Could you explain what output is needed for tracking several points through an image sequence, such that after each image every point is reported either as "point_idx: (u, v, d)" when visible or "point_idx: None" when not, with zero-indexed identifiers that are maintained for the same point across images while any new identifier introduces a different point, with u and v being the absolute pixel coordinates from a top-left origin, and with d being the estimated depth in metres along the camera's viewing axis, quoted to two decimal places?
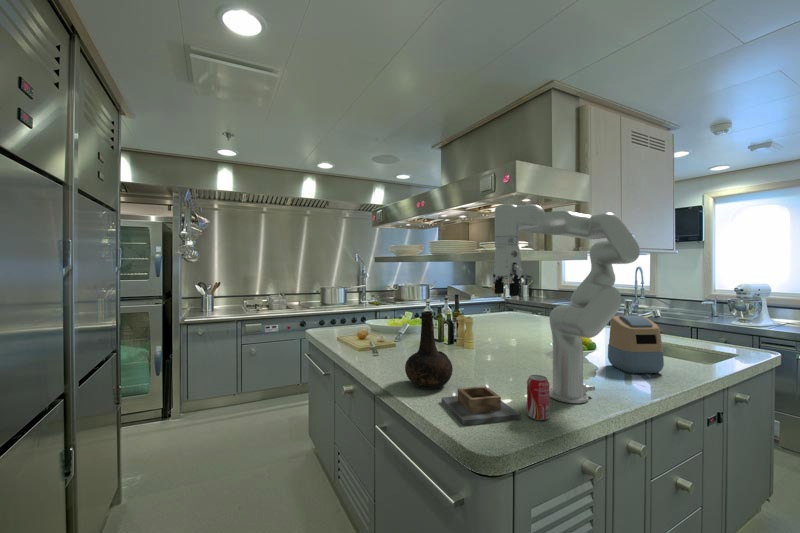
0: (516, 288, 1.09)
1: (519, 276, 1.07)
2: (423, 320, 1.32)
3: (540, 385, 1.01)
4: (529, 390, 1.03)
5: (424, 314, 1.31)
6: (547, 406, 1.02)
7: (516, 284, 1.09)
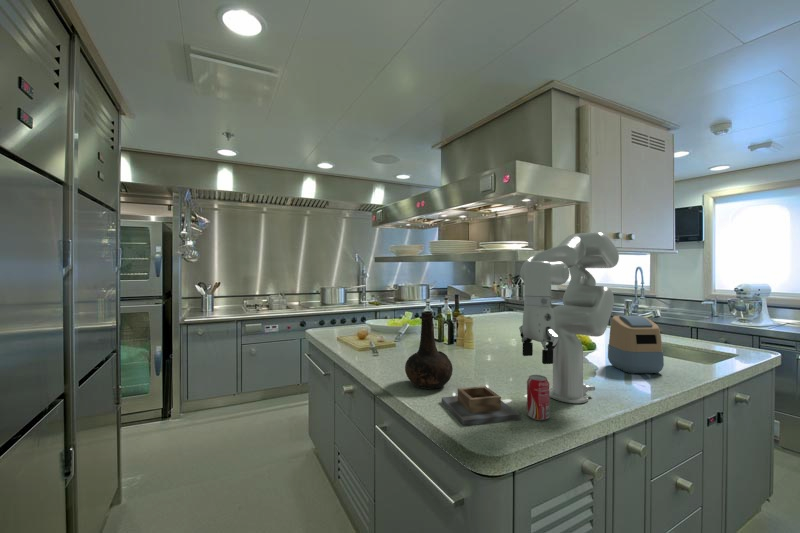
0: (550, 356, 0.98)
1: (554, 343, 0.97)
2: (423, 320, 1.32)
3: (540, 385, 1.01)
4: (529, 390, 1.03)
5: (424, 314, 1.31)
6: (547, 406, 1.02)
7: (550, 351, 0.98)
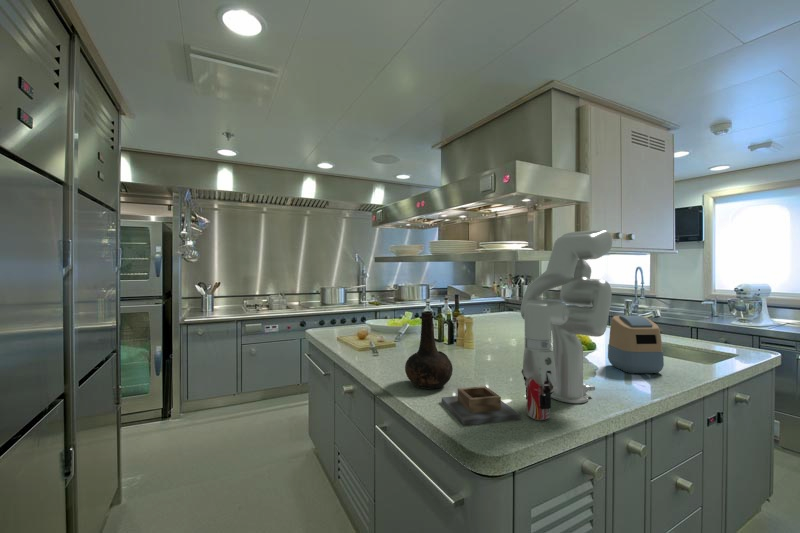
0: (548, 401, 1.00)
1: (552, 391, 0.98)
2: (423, 320, 1.32)
3: None
4: (529, 390, 1.03)
5: (424, 314, 1.31)
6: None
7: (548, 397, 1.00)
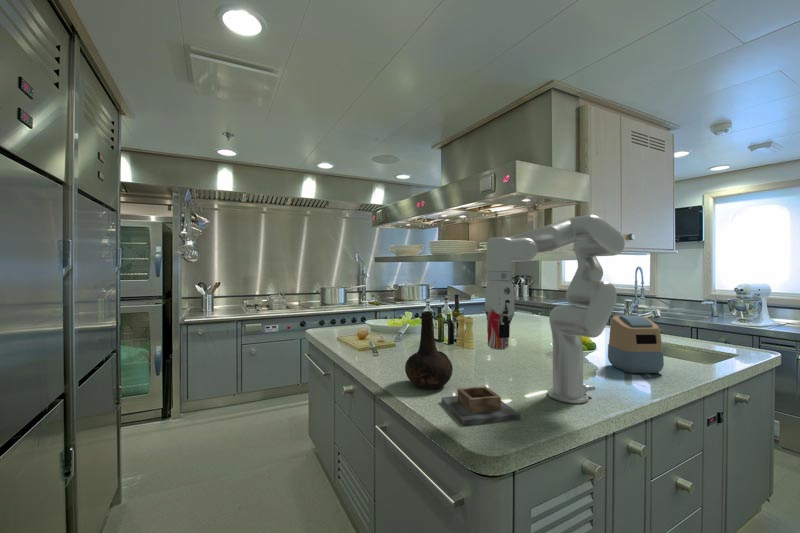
0: (506, 330, 1.03)
1: (509, 319, 1.02)
2: (423, 320, 1.32)
3: None
4: (489, 321, 1.07)
5: (424, 314, 1.31)
6: None
7: (506, 326, 1.03)
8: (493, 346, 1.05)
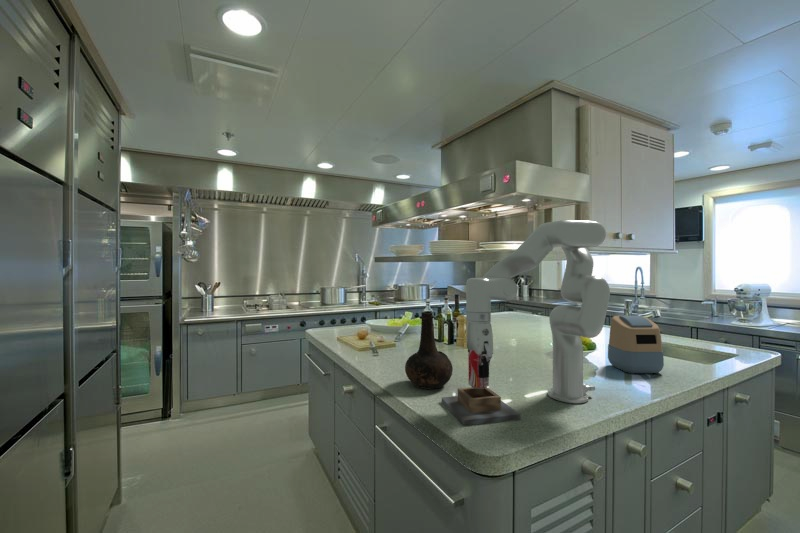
0: (485, 370, 1.05)
1: (488, 360, 1.04)
2: (423, 320, 1.32)
3: None
4: (469, 360, 1.09)
5: (424, 314, 1.31)
6: None
7: (486, 366, 1.05)
8: (473, 385, 1.07)
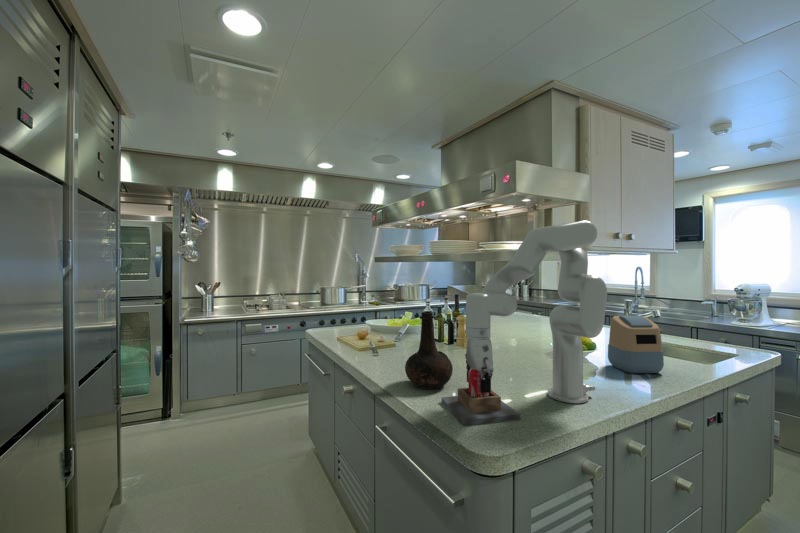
0: (487, 385, 1.04)
1: (490, 374, 1.02)
2: (423, 320, 1.32)
3: (479, 374, 1.07)
4: (469, 379, 1.09)
5: (424, 314, 1.31)
6: (486, 394, 1.07)
7: (487, 381, 1.04)
8: None
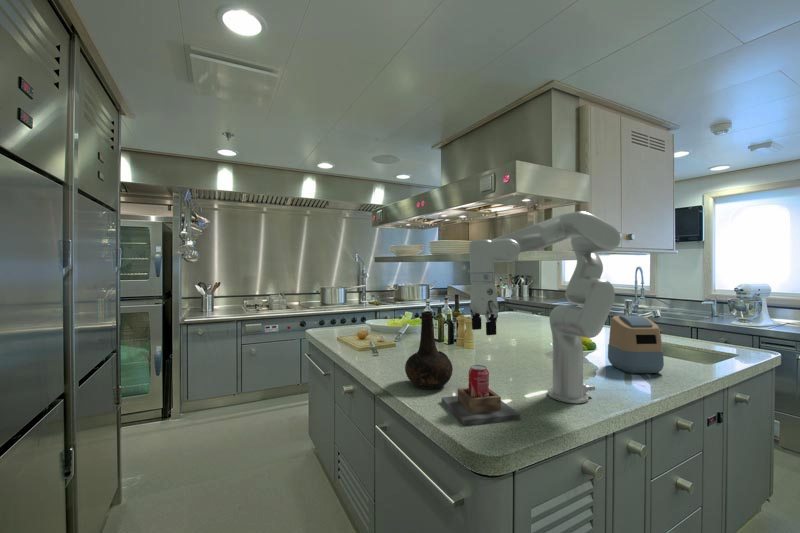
0: (493, 327, 1.06)
1: (495, 315, 1.04)
2: (423, 320, 1.32)
3: (479, 374, 1.07)
4: (470, 379, 1.09)
5: (424, 314, 1.31)
6: (486, 394, 1.07)
7: (493, 323, 1.06)
8: None
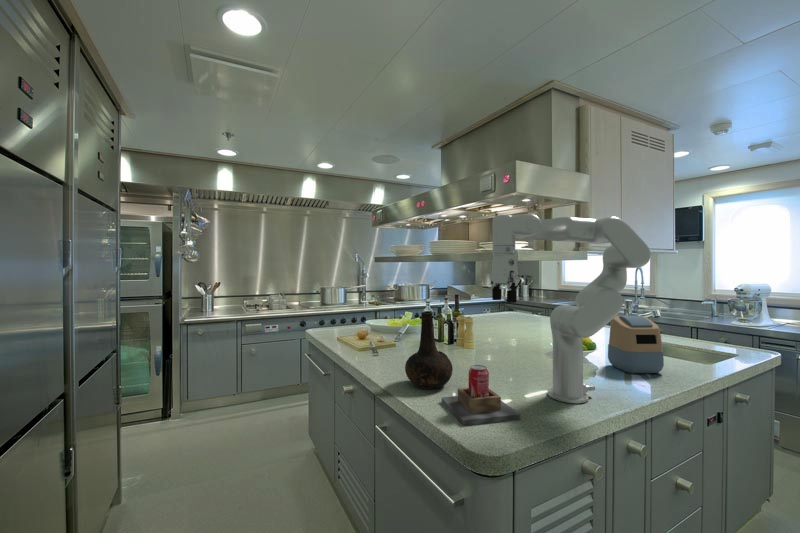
0: (513, 295, 1.14)
1: (516, 284, 1.12)
2: (423, 320, 1.32)
3: (479, 374, 1.07)
4: (469, 379, 1.09)
5: (424, 314, 1.31)
6: (486, 394, 1.07)
7: (514, 291, 1.14)
8: None
